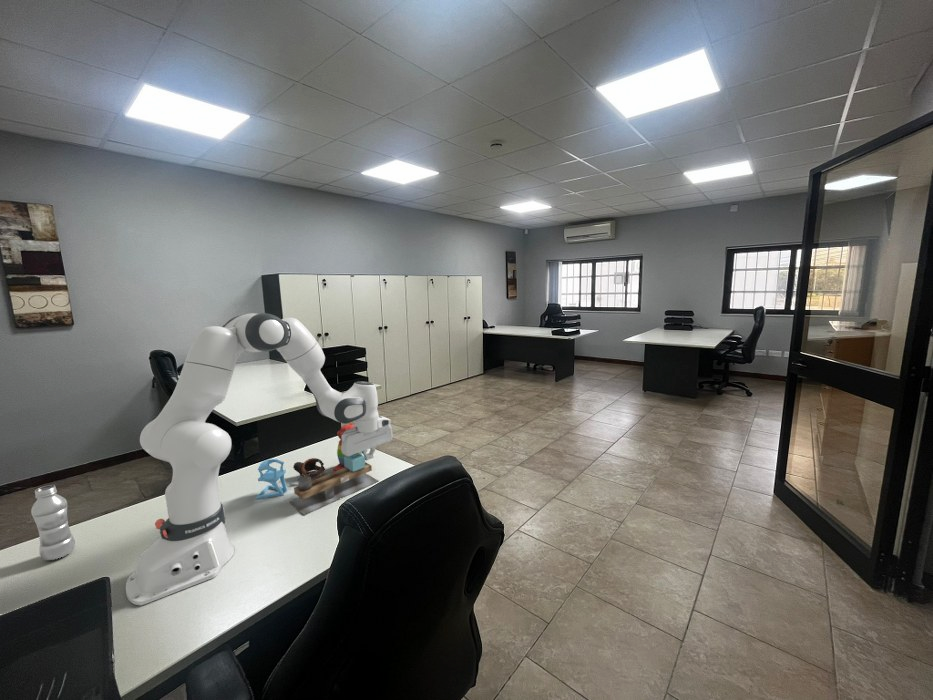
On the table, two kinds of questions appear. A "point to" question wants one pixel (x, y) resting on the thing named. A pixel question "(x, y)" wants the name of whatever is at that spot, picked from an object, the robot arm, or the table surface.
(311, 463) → the pottery mug
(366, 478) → the brown wooden bench
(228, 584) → the table surface
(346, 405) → the robot arm
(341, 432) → the stacking bear
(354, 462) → the block
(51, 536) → the plastic bottle
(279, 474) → the chair
